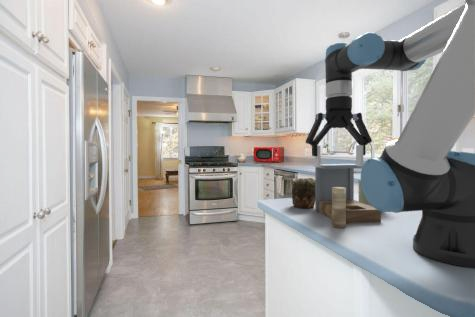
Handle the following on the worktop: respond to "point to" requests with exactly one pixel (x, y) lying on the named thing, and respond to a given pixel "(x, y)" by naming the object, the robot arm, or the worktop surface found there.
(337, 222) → the peg
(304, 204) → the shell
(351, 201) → the socket block
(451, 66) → the robot arm
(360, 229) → the worktop surface
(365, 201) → the can
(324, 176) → the grey open drawer
